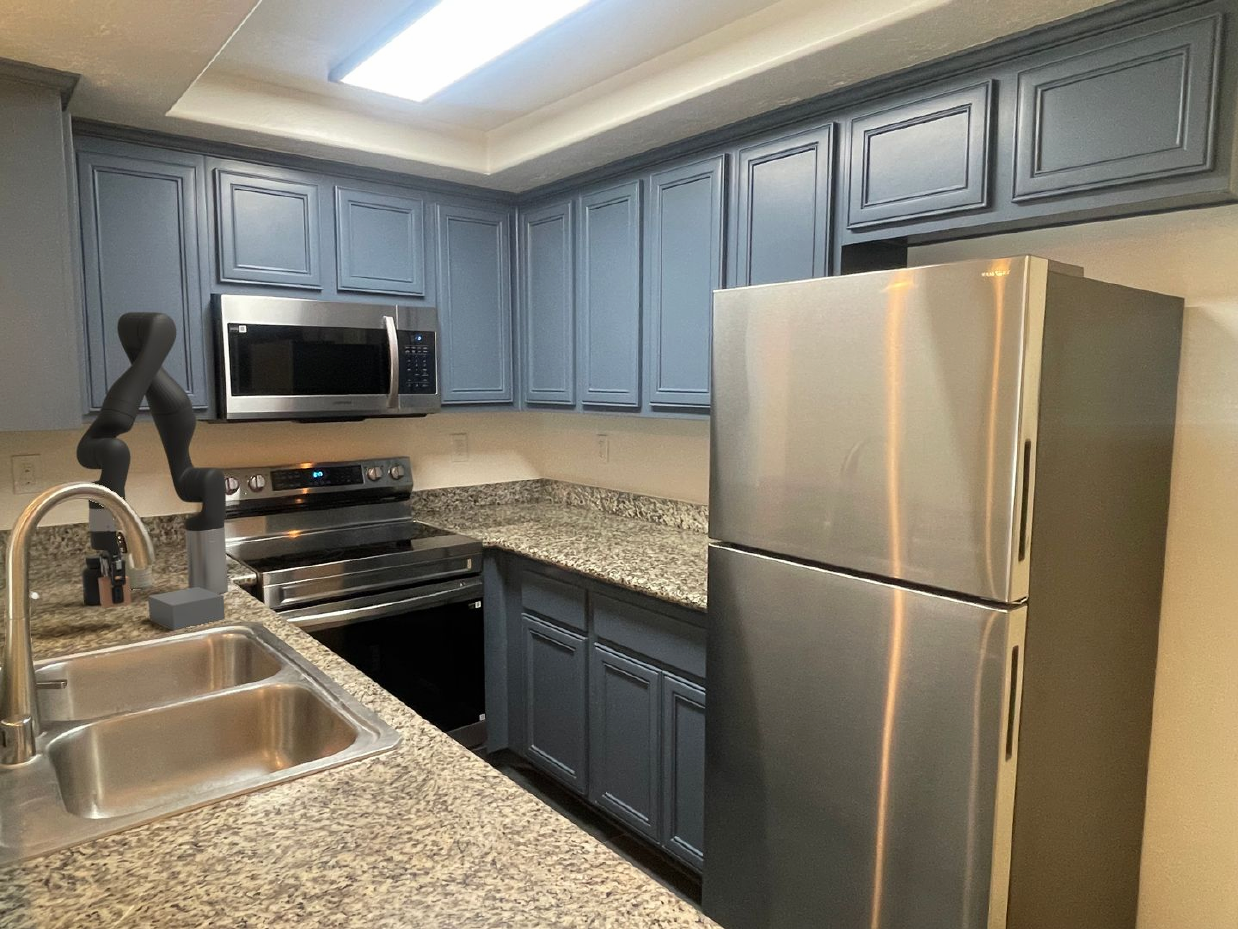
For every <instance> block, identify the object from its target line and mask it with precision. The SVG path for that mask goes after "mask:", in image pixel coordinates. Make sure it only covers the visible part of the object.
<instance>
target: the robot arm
mask: <svg viewBox="0 0 1238 929" xmlns="http://www.w3.org/2000/svg"><path fill="white" fill-rule="evenodd" d="M116 327H117V334H118V335H117V336H118V339H119V341H120V344H121V347H122V349H123V350H124V353H125V354H126V356H127V359H128V361H129V362H130V364H131V366H129V367H128V368H127V370H126V371H124V373H122V375H120V377H119V378H118V379H116V381H115V382H114V383H113V384H112V385H111V386H110V388H109V389H108V391H107V392H106V395H105V396H104V399H103V401H102V404H101V407H100V410H99V413H98V416H97V418H96V419H95V420H94V421H93V422H92V423H91V424H90V426H89V427H88V429H87V430H86V431H85V433H83V435H82V437H81V438H80V440H79V442H78V445H77V447H76V459H77V462H78V463H79V465H80V466H81V467H82V468H85V469H88V470H101V472H100V477H99V479H98V480H94V481H91V483H95V484H99V485H103V486H105V487H107V488H109V489H110V490H111V491H114V492H116V493H117V494H118V495H119V496H120V497H123V499H124V500H125V501H127V500H126V489H125V487H126V483H127V479H128V474H129V470H130V464H131V458H132V457H131V451H130V448H129V446H128V445H127V443H126V442H125V441H123V440H122V439H120V438H117V437H119V436H120V435H124V434H126V433H128V432H130V431H131V430H132V428H133V427H134V423H135V422H136V418H137V416H138V414H139V410H140V408H141V405H142V403H143V400H144V398H145V399H146V402H147V406H148V409H149V412H150V414H151V417H152V420H153V422H154V425H155V428H156V430H157V432H158V435H159V437H160V441H161V444H162V447H163V449H164V452H165V455H166V459H167V465H168V468H169V472H170V476H171V481H172V484H173V487H174V490H175V493H176V494H177V496H178V498H179V499H180V501H182V502H184V503H191V504H193V503H200V504H201V510H200V512H198V513H196V514H195V515H192V516H188V517H187V518H186V519H185V521H184V532H185V546H186V549H185V550H186V561H187V562H186V563H187V564H186V565H187V581H188V589H190V588H195V587H199V588H202V589H205V590H208V591H211V592H214V593H217V594H220V595H221V594H223V593H226V592H228V591H229V582H228V564H227V563H228V562H227V549H226V548H227V546H226V533H225V519H226V514H227V485H226V477H225V474H224V473H223V470H221V469H219V468H217V467H195V466H194V464H193V462H192V460H191V456H190V445H191V442H192V439H193V437H194V436H193V435H194V433H195V431H196V426H197V416H196V413H195V411H194V408H193V404H192V401H191V398H190V396H189V395H188V393H187V392H186V391H185V390H184V388H183V387H182V386H181V384H179V383H178V382H177V380H175V378H173V377H172V376H171V375H170V374H169V373H168V372H167V370H166V369H165V368H164V367H163V364H164V362H165V361H166V358H167V357H168V356H169V354H170V352H171V350H172V349H173V347H174V344H175V342H176V338H177V326H176V323H175V321H174V320H173V319H172V318H171V316H170V315H168V314H167V313H163V312H153V311H152V312H148V311H147V312H145V311H143V312H142V311H139V312H138V311H136V312H133V311H132V312H125V313H124V314H122V315H121V316H120V317H119V318H118V320H117V326H116ZM87 500H88V499H87ZM88 528H89V539H90V548H91V549H92V550H93V551H94V550H95V551H102V552H99V554H98V555H99V557H100V563H101V571H102V577H107V578H109V579H110V586H111V594H112V603H114V604H118V603H123V602H124V592H123V586H124V585H125V584H126V573H125V563H126V561H125V560H124V556H123V555H121V549H120V550H119V547H118V544H117V536H116V526H115V523H114V520H113V517H112V516H111V514H110V512H109V511H108V510H106V509H105V508H104V507H102V506H101V505H99V503H95V502H92V501H90V500H88ZM117 576H119V577H120V580H116V581H115V577H117Z"/></svg>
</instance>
